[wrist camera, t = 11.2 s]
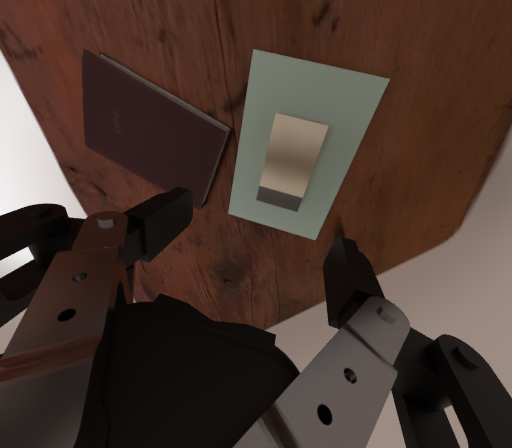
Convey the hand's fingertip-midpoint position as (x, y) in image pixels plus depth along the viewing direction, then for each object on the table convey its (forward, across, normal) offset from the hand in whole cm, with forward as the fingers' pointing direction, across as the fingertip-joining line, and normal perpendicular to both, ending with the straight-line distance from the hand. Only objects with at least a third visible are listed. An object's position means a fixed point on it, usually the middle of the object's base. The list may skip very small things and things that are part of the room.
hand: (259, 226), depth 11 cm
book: (+18, +19, +2) cm, 26 cm away
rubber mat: (+18, 0, 0) cm, 18 cm away
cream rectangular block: (+17, 0, 0) cm, 17 cm away
